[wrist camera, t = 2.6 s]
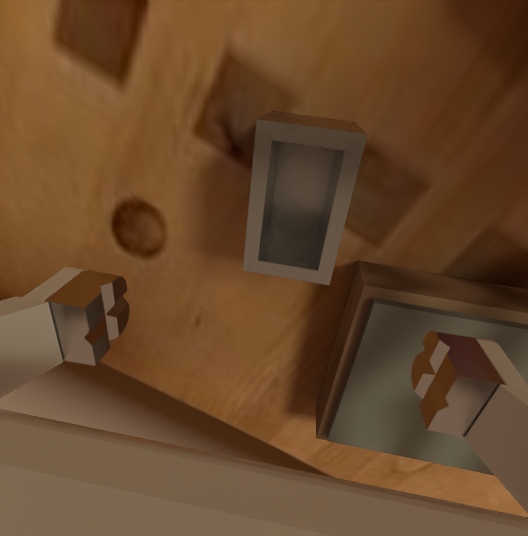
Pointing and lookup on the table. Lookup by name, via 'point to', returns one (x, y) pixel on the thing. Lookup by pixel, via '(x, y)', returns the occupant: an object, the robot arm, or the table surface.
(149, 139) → the table surface
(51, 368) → the robot arm
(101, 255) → the table surface
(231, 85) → the table surface
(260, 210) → the housing
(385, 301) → the plinth
